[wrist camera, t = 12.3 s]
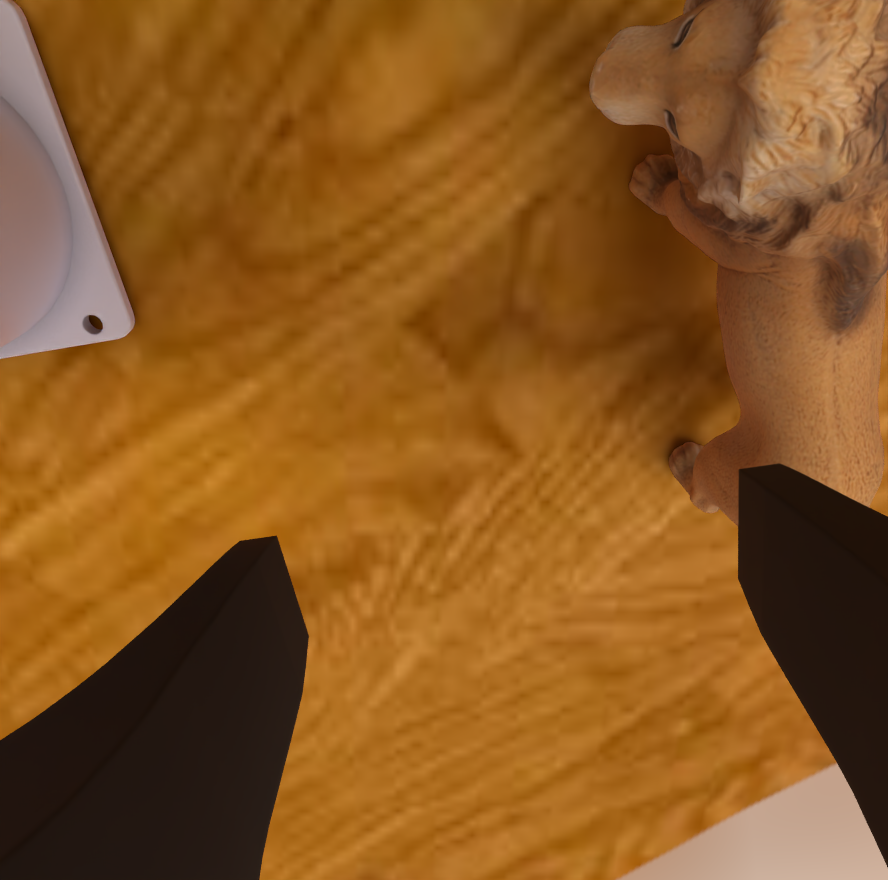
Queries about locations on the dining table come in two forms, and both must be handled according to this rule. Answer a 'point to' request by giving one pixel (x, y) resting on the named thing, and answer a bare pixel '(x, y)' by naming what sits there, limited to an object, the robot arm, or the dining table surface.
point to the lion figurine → (774, 219)
